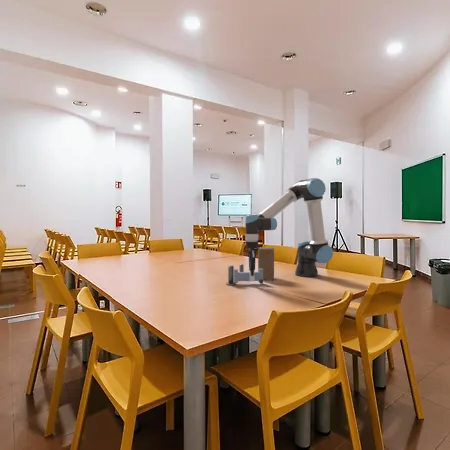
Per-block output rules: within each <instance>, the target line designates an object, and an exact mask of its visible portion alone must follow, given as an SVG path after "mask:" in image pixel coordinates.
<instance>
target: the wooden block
mask: <svg viewBox="0 0 450 450" xmlns="http://www.w3.org/2000/svg"><path fill="white" fill-rule="evenodd" d="M258 269H263V281H273V280H275V248H274V247H273V246H272V247H265V246H260V247H258V248H257V270H258Z"/></svg>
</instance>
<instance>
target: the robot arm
mask: <svg viewBox="0 0 450 450" xmlns="http://www.w3.org/2000/svg"><path fill="white" fill-rule="evenodd" d="M326 190H327V189H326V184H325V183H324V181H323V180H321V179H320V178H317V177H315V178H314V177H313V178H308V179H301V180H299V181H297V182H295V183H294V184H292V185H291V186H290V187H289V188H288V189H286V191H285V193H284V194H283V195H282V196H280V197H279V198H277V199H276V200H275V201H274V202H273V203H271V204H270V205H268V206H267V207H266V208H265V209H264V210H263V211H261V212H260V213H259V214H246V215H245V220H244V221H245V222H244V226H245V237H244V239H245V248H246V249H248V251H247V253H248V271H249V272H250V281H249V282H255V281H254V272H255V270H256V259H257V258H256V256H257V255H256V254H257V252H256V249H259V238H260V235H259V232H261V231H275V230H276V229H277V226H278V221H277V219H276V218H275V217H276V216H277V215H279V213H281V212H282V211H283V210H284V209H286V208H287V207H288V206H290V205H291V204H293V203H295V202H297V201H298V200H301V199H303V201H304V203H305V204H306V207H307V214H308V215H307V217H308V223H309V233H310V241H309V240H308V241H299V242H298V243H297V244H298V245H297V265H296V268H295V270H294V271H295V273H294V275H295V276H298V277H303V278H304V277H306V278H311V277H312V278H313V277H314V276H315V277H318V276H317V275H319V271H318V268H317V265H316V263H318V264H327V263H329V262H330V261H331V260H332V258H333V257H334V256H333V255H334V250H333V247H332V246H331V245H329V240H328V239H326V236H325V235H326V234H325V226H324V219H323V217H324V216H323V209H322V201H323V199H324V195H325V193H326Z"/></svg>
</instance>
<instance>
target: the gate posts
mask: <svg viewBox="0 0 450 450" xmlns="http://www.w3.org/2000/svg"><path fill="white" fill-rule="evenodd" d="M234 267H235V266H234V265H228V267H227V268H228V271H227V272H228V273H227V274H228V278H227V279H228V282H226V283H225V285H226V286H237V283H234V269H235V268H234ZM244 268H245V267H244V264H243V263H242V264H241V263H240V264H239V272H245V271H244Z"/></svg>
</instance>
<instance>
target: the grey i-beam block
mask: <svg viewBox="0 0 450 450" xmlns="http://www.w3.org/2000/svg"><path fill="white" fill-rule="evenodd" d="M239 282H251V281H250V271H244V272H240V271H239V270H238V268H234V283H236V284H238V283H239ZM253 282H258V283H259V284H263V283H264V280H263V269H258V268H257V271H254V281H253Z"/></svg>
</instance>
